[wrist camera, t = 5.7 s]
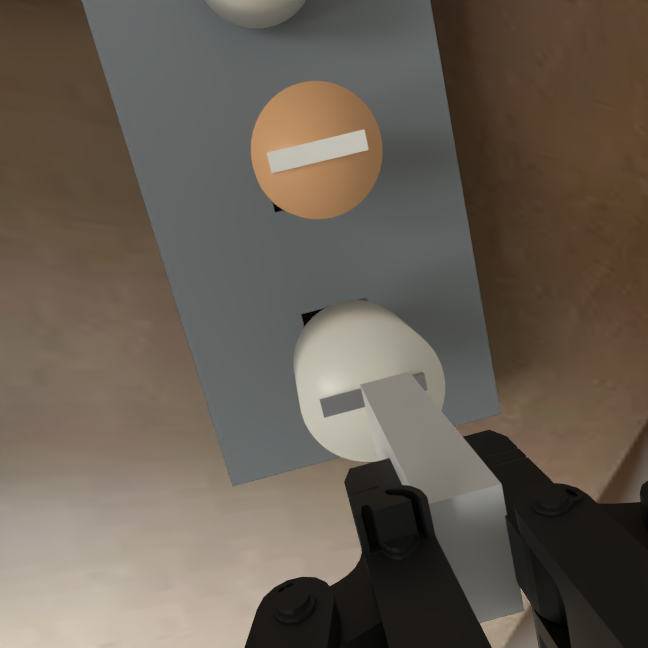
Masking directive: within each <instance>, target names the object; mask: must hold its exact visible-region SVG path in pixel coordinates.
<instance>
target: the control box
mask: <svg viewBox="0 0 648 648" xmlns="http://www.w3.org/2000/svg"><path fill="white" fill-rule="evenodd" d="M82 3H83V6H84V10H85V13H86V16H87V19H88V22H89V26H90V29H91V32H92V35H93V39H94V42H95V45H96V48H97V51H98V55H99V58H100V61H101V64H102V67H103V71H104V74H105V77H106V80H107V84H108V87H109V90H110V93H111V96H112V100H113V103H114V106H115V109H116V113H117V116H118V119H119V122H120V125H121V129H122V132H123V135H124V138H125V141H126V145H127V148H128V151H129V154H130V158H131V161H132V164H133V167H134V170H135V174H136V177H137V180H138V183H139V187H140V190H141V193H142V196H143V199H144V203H145V206H146V209H147V212H148V216H149V219H150V222H151V225H152V228H153V232H154V235H155V238H156V241H157V244H158V248H159V251H160V254H161V257H162V261H163V264H164V267H165V270H166V273H167V277H168V280H169V283H170V286H171V290H172V293H173V296H174V299H175V302H176V306H177V309H178V312H179V315H180V318H181V322H182V325H183V328H184V331H185V335H186V338H187V341H188V344H189V347H190V351H191V354H192V357H193V360H194V364H195V367H196V370H197V373H198V376H199V380H200V383H201V386H202V389H203V392H204V396H205V399H206V402H207V405H208V409H209V412H210V415H211V418H212V421H213V425H214V428H215V431H216V434H217V438H218V441H219V444H220V447H221V450H222V454H223V457H224V460H225V463H226V466H227V470H228V473H229V476H230V479H231V483H232V486H235V485H239V484H243V483H247V482H250V481H254V480H258V479H261V478H265V477H269V476H272V475H276V474H280V473H284V472H287V471H291V470H295V469H298V468H302V467H306V466H309V465H313V464H317V463H321V462H324V461H328V460H332V459H335V458H339V457H340V456H338V455H336V454H334V453H332V452H330V451H329V450H327V449H326V448H325V447H323V446H322V445H321V444H320V443H319V442H318V441H317V440H316V439H315V438H314V437H313V435H312V434H311V433H310V431H309V430H308V428H307V426H306V424H305V422H304V419H303V416H302V414H301V409H300V404H299V398H298V392H297V386H296V380H295V374H294V367H293V356H294V349H295V345H296V342H297V339H298V337H299V335H300V333H301V331H302V330H303V328H304V324H303V320H302V316H301V314H304V313H308V312H312V311H316V310H320V309H323V308H326V307H328V306H331V305H333V304H336V303H339V302H343V301H348V300H365V301H370V302H374V303H376V304H379V305H381V306H383V307H385V308H387V309H389V310H390V311H392V312H393V313H394V314H395V315H397V316H398V317H399V318H400V319H401V320H402V321H403V322H405V323H406V324H407V325H408V326H409V327H410V328H412V329H413V330H414V331H415V332H416V333H417V334H419V335H420V336H421V337H422V338H423V339H424V340H425V341H426V342H427V343H428V344H429V345H430V346H431V347H432V349H433V350H434V352H435V353H436V355H437V357H438V358H439V361H440V363H441V366H442V369H443V373H444V378H445V397H444V403H443V406H442V410H441V411H442V412H443V413H444V415H445V416H446V417H447V418H448V420H449V421H450V422H451V423H452V424H453V426H457V425H461V424H465V423H469V422H472V421H476V420H480V419H483V418H487V417H491V416H494V415H498V414H501V412H500V406H499V400H498V394H497V389H496V383H495V377H494V371H493V365H492V359H491V353H490V348H489V342H488V336H487V330H486V324H485V318H484V312H483V307H482V301H481V295H480V289H479V283H478V277H477V271H476V266H475V260H474V254H473V248H472V242H471V236H470V230H469V225H468V219H467V213H466V207H465V201H464V195H463V189H462V183H461V178H460V172H459V166H458V160H457V154H456V148H455V142H454V137H453V131H452V125H451V119H450V113H449V107H448V101H447V96H446V90H445V84H444V78H443V72H442V66H441V60H440V55H439V49H438V43H437V37H436V31H435V25H434V19H433V14H432V8H431V2H430V0H306V2H305V3H304V5H303V6H302V7H301V8H300V9H299V11H298V12H297V13H295V14H294V15H293V16H292V17H291V18H289V19H288V20H286V21H285V22H282V23H280V24H278V25H275V26H272V27H268V28H262V29H253V28H245V27H241V26H238V25H235V24H233V23H230V22H228V21H227V20H225V19H223V18H222V17H220V16H219V15H218V14H216V13H215V12H214V11H213V10H212V9H211V8H210V7H209V6H208V5H207V4H206V2H205V1H204V0H82ZM308 81H324V82H330V83H334V84H337V85H339V86H342V87H344V88H346V89H348V90H349V91H351V92H353V93H354V94H355V95H356V96H358V97H359V98H360V99H361V100H362V101H363V102H364V103H365V104H366V105H367V107H368V108H369V109H370V111H371V112H372V114H373V116H374V118H375V119H376V122H377V124H378V127H379V130H380V134H381V139H382V150H383V155H382V164H381V168H380V172H379V175H378V177H377V180H376V182H375V184H374V186H373V188H372V189H371V191H370V192H369V193H368V195H367V196H366V197H365V198H364V199H363V200H362V201H361V202H360V203H359V204H358V205H357V206H355V207H354V208H352V209H351V210H349V211H348V212H346V213H343V214H341V215H339V216H336V217H332V218H327V219H308V218H303V217H299V216H296V215H294V214H291V213H289V212H286V211H285V210H283V209H281V210H277V211H275V210H274V206H273V202H272V201H271V200H270V199H269V198H268V197H267V196H266V195H265V193H264V192H263V190H262V189H261V187H260V185H259V183H258V180H257V178H256V175H255V172H254V169H253V164H252V159H251V139H252V134H253V130H254V127H255V124H256V121H257V119H258V117H259V115H260V113H261V112H262V110H263V109H264V107H265V106H266V105H267V104H268V102H269V101H270V100H271V99H272V98H273V97H275V96H276V95H277V94H278V93H280V92H281V91H283V90H284V89H286V88H288V87H290V86H292V85H295V84H298V83H301V82H308Z"/></svg>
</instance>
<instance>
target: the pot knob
mask: <svg viewBox="0 0 648 648" xmlns="http://www.w3.org/2000/svg"><path fill="white" fill-rule="evenodd" d="M382 155H383V150H382V139H381V134H380V130H379V127H378V124H377V122H376V119H375V118H374V116H373V114H372V112H371V111H370V109H369V108H368V107H367V105H366V104H365V103H364V102H363V101H362V100H361V99H360V98H359V97H358V96H356V95H355V94H354V93H353V92H351V91H349V90H348V89H346V88H344V87H342V86H339V85H337V84H334V83H330V82H324V81H308V82H301V83H298V84H295V85H292V86H290V87H288V88H286V89H284V90H283V91H281V92H280V93H278V94H277V95H276V96H275V97H273V98H272V99H271V100H270V101H269V102H268V104H267V105H266V106H265V107H264V109H263V110H262V112H261V113H260V115H259V117H258V119H257V121H256V124H255V127H254V130H253V134H252V139H251V159H252V164H253V169H254V172H255V175H256V178H257V180H258V183H259V185H260V187H261V189H262V190H263V192H264V193H265V195H266V196H267V197H268V198H269V199H270V200H271V201H272V202H273V203H274V204H275V205H276V206H278V207H279V208H281V209H283V210H285V211H286V212H289V213H291V214H294V215H296V216H299V217H303V218H308V219H327V218H332V217H336V216H339V215H341V214H343V213H346V212H348V211H349V210H351V209H352V208H354V207H355V206H357V205H358V204H359V203H360V202H361V201H362V200H363V199H364V198H365V197H366V196H367V195H368V193H369V192H370V191H371V189H372V188H373V186H374V184H375V182H376V180H377V177H378V175H379V172H380V168H381V164H382Z"/></svg>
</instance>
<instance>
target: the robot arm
mask: <svg viewBox="0 0 648 648" xmlns="http://www.w3.org/2000/svg"><path fill="white" fill-rule="evenodd" d="M360 387H361V391H362V395H363V399H364V404H365V408H366V412H367V416H368V421H369V425H370V429H371V433H372V438H373V442H374V446H375V450H376V455H377V459H378V461H377V462H373V463H369V464H366V465H362V466H358V467H354V468H351V469H350V470H349V472H348V474H347V477H346V479H345V481H344V482H345V486H346V490H347V494H348V498H349V502H350V506H351V510H352V514H353V518H354V522H355V525H356V529H357V533H358V537H359V541H360V545H361V548H362V554H361V558H360V561H359V562H358V564H357V566H356V567H355V568H354V569H353V570H352V571H351V572H350V573H349V574H348V575H347V576H346V577H344V578H343V579H341V580H340V581H339V582H337V583H335V584H333V585H331V586H329V585H328V584H327V583H326V582H325V581H322V580H320V579H318V578H315V577H299V578H295V579H291V580H287V581H286V582H284V583H282V584H280V585H278V586H276V587H274V588H273V589H272V590H271V591H270V592H269V593H268V594H267V595H266V596H265V597H264V598H263V600H262V601H261V603H260V605H259V607H258V609H257V611H256V614H255V617H254V620H253V624H252V627H251V630H250V633H249V636H248V639H247V642H246V645H245V648H492V647H491V645H490V643H489V641H488V639H487V637H486V635H485V633H484V632H483V630H482V628H481V626H480V624H479V623H482V622H486V621H489V620H493V619H496V618H500V617H503V616H507V615H511V614H514V613H518V612H521V611H524V608H523V602H522V596H521V591H520V587H521V589H522V591H523V592H524V594H525V595H526V597H527V598H528V600H529V601H530V603H531V606H532V611H533V617H534V623H535V629H536V634H537V640H538V646H539V648H648V481H647V482H646V483H644V484H643V485H642V487H641V491H640V499H641V502H637V503H619V504H598V503H596V502H595V501H594V500H593V499H592V498H591V497H590V496H589V495H588V494H586V493H585V492H583V491H581V490H580V489H578V488H576V487H572V486H569V485H566V484H556V483H553V482H552V481H551V480H550V479H549V478H548V477H547V476H546V475H545V474H544V473H543V472H542V471H541V470H540V469H539V468H538V467H537V466H536V465H535V464H534V463H533V462H532V461H531V460H530V459H529V458H526V455H525V454H524V453H523V452H522V451H521V450H520V449H518V448H517V446H516V445H515V444H514V443H513V442H512V441H511V440H510V439H509V438H508V437H507V436H504V435H501V434H499V433H496V432H494V431H491V430H487V431H483V432H479V433H475V434H472V435H468V436H464V437H462V435H461V434H460V433H459V432H458V430H457V429H456V428H455V427H454V426H453V424H452V423H451V422H450V421H449V420H448V418H447V417H446V416H445V415H444V413H443V412H442V411H441V410H440V409H439V407H438V406H437V405H436V404H435V403H434V401H433V400H432V399H431V398H430V396H429V395H428V394H427V393H426V392H425V390H424V389H423V388H422V387H421V386H420V384H419V383H418V382H417V381H416V379H415V378H414V377H413V376H412V375H411V373H410V372H406V373H402V374H398V375H394V376H391V377H387V378H383V379H379V380H375V381H371V382H368V383H364V384H360Z"/></svg>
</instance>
